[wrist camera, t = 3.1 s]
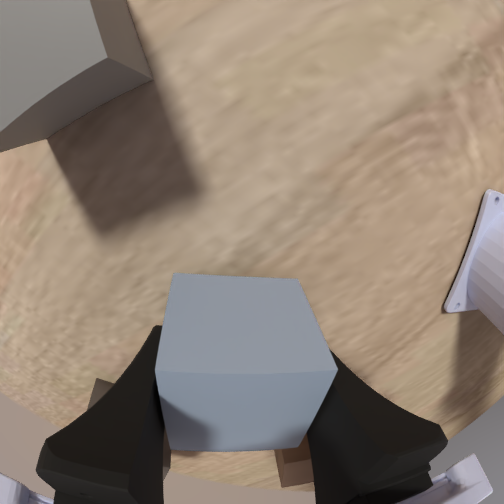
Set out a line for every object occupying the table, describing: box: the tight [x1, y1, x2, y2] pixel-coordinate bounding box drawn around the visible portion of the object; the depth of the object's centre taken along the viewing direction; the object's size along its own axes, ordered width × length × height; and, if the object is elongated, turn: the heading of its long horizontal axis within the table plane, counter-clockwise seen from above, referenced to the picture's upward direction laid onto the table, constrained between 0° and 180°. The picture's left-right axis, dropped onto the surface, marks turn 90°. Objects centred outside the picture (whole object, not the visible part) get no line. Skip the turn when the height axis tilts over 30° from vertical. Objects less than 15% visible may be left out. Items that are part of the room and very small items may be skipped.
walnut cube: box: [274, 433, 314, 488], centre depth 16 cm, size 5×5×5 cm
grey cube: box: [0, 0, 153, 152], centre depth 6 cm, size 5×5×5 cm
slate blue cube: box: [155, 273, 338, 452], centre depth 11 cm, size 5×5×5 cm
